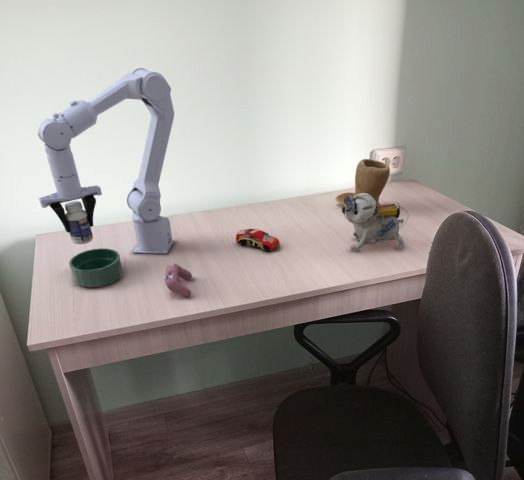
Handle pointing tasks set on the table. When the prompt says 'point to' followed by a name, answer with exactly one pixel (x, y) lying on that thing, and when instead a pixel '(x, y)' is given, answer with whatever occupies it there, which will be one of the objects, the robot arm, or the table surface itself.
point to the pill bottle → (78, 223)
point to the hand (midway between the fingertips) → (79, 228)
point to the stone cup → (368, 179)
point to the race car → (257, 239)
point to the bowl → (96, 267)
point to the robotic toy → (372, 220)
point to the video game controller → (177, 279)
